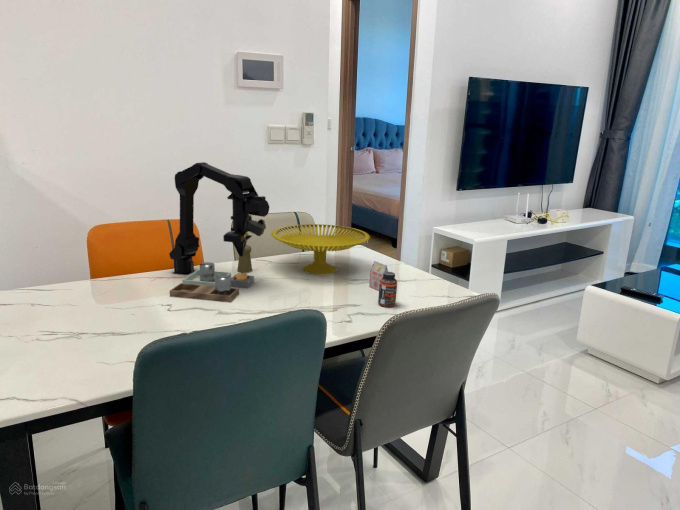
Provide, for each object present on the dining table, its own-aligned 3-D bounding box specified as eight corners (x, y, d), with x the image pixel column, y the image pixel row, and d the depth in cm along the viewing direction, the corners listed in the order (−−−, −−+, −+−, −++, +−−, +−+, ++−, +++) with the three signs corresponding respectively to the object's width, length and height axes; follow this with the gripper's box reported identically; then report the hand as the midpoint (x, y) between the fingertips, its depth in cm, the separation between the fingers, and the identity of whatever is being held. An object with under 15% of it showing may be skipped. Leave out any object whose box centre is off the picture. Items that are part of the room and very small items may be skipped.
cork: (254, 270, 207) (254, 243, 204) (250, 274, 201) (250, 247, 198) (239, 269, 207) (239, 242, 204) (235, 273, 201) (234, 246, 198)
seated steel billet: (212, 298, 171) (212, 278, 169) (218, 293, 175) (218, 274, 174) (227, 300, 170) (227, 280, 168) (233, 295, 175) (233, 275, 173)
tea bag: (376, 285, 194) (378, 260, 192) (388, 290, 189) (390, 264, 187) (369, 287, 192) (370, 261, 190) (381, 292, 187) (382, 266, 184)
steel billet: (197, 284, 186) (197, 265, 184) (203, 279, 191) (203, 261, 189) (211, 285, 185) (211, 266, 183) (217, 281, 190) (216, 263, 188)
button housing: (228, 289, 183) (228, 280, 182) (235, 283, 190) (235, 274, 189) (247, 291, 182) (247, 281, 181) (253, 285, 189) (253, 275, 188)
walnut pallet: (169, 299, 171) (169, 290, 171) (181, 291, 179) (180, 283, 178) (230, 305, 168) (230, 296, 168) (239, 296, 176) (239, 288, 175)
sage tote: (182, 288, 182) (182, 280, 182) (198, 277, 195) (197, 269, 194) (217, 291, 181) (217, 283, 180) (231, 280, 193) (231, 272, 192)
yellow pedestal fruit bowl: (375, 261, 226) (377, 228, 222) (358, 290, 188) (360, 250, 184) (288, 252, 235) (289, 220, 231) (255, 278, 197) (255, 240, 193)
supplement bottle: (384, 308, 171) (386, 276, 168) (374, 302, 176) (376, 271, 173) (398, 306, 174) (401, 274, 171) (389, 300, 179) (391, 269, 176)
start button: (234, 283, 184) (234, 275, 183) (238, 280, 188) (238, 272, 187) (245, 284, 183) (245, 276, 183) (248, 281, 187) (248, 273, 186)
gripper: (254, 219, 169) (254, 265, 173) (270, 210, 187) (270, 251, 191) (222, 217, 170) (223, 262, 175) (241, 208, 188) (241, 249, 192)
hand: (241, 256), depth 183 cm, fingers closed
